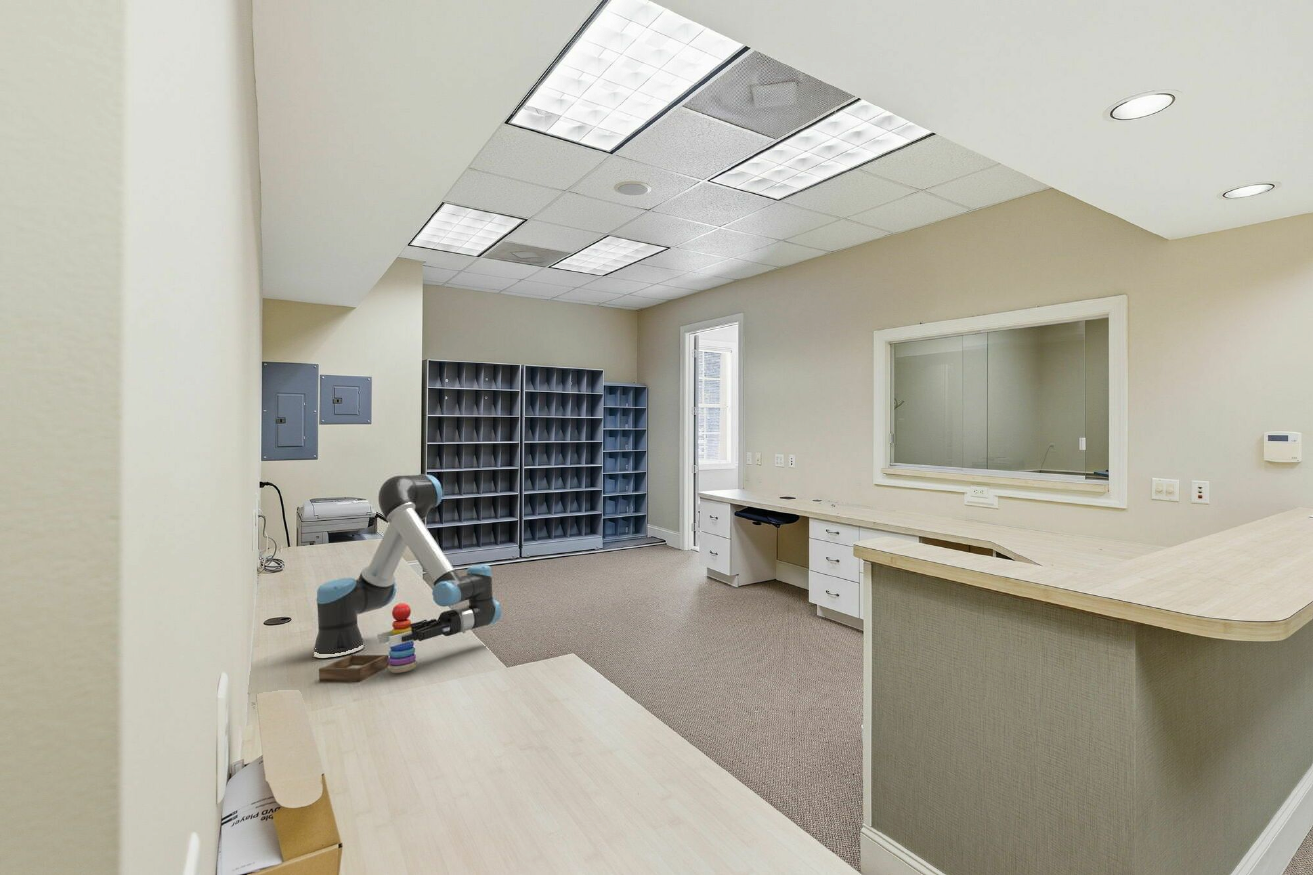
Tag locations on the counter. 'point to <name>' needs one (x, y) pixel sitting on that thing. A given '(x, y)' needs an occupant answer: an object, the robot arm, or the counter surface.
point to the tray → (353, 668)
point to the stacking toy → (403, 653)
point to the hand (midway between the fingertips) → (383, 640)
